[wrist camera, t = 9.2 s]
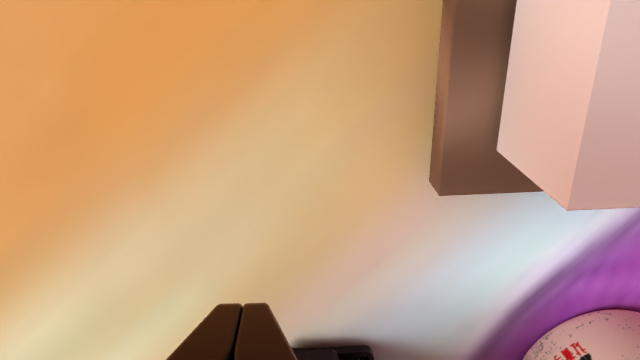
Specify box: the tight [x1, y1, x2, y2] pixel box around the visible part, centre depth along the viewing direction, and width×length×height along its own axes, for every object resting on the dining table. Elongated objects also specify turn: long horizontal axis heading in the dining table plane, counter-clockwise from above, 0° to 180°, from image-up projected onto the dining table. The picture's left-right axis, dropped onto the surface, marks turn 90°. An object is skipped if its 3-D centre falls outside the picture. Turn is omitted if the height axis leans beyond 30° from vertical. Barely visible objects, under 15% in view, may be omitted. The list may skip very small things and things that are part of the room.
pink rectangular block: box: [497, 0, 640, 211], centre depth 14 cm, size 10×5×5 cm, turn 1°
